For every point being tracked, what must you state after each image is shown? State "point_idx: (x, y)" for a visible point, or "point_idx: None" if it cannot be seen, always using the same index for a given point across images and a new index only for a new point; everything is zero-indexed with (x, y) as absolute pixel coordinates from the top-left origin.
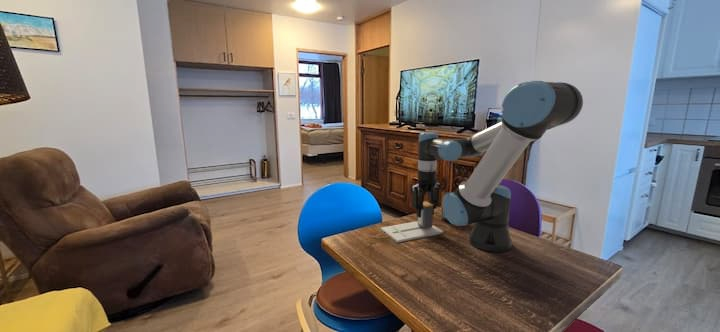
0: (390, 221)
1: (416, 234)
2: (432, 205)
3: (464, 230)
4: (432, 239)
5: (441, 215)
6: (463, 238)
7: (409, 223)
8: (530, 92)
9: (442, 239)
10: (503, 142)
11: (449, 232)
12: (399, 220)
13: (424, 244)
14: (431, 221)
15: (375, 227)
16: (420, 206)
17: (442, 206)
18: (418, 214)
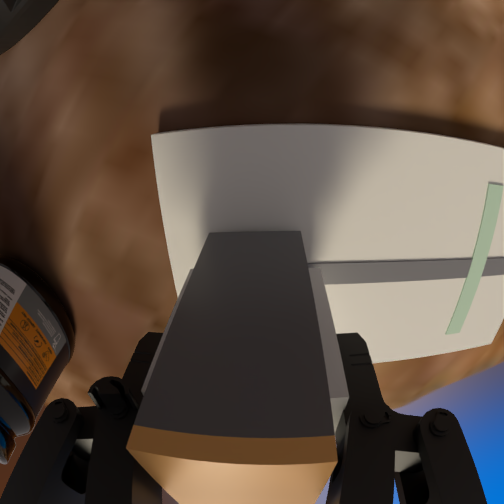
0: None
1: (422, 171)
2: (146, 438)
3: (11, 146)
4: (328, 57)
5: (67, 354)
6: (78, 16)
7: None
8: None
9: (242, 25)
10: None
11: (103, 135)
12: None
13: (434, 28)
14: (210, 262)
15: (478, 361)
16: (387, 455)
17: (37, 396)
18: (369, 362)
